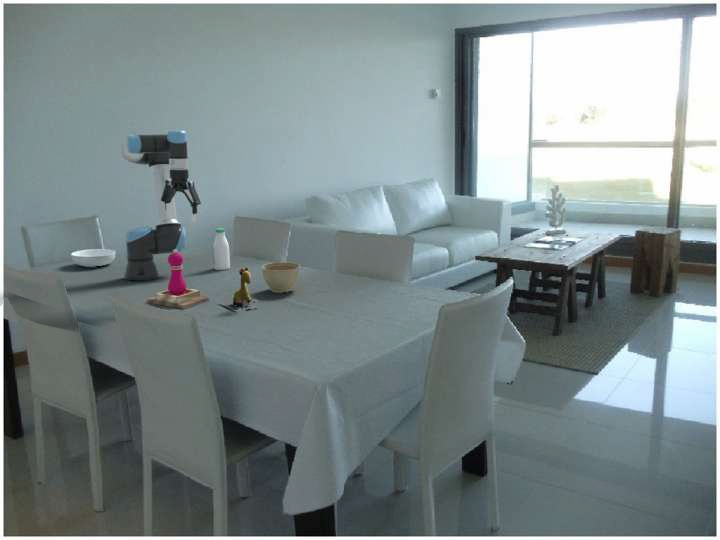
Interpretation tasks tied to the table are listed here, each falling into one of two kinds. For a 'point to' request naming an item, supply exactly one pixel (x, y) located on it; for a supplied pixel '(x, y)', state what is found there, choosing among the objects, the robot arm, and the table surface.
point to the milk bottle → (221, 251)
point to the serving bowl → (93, 257)
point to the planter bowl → (281, 276)
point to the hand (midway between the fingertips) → (181, 220)
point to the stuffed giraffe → (241, 292)
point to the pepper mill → (176, 274)
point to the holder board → (178, 299)
